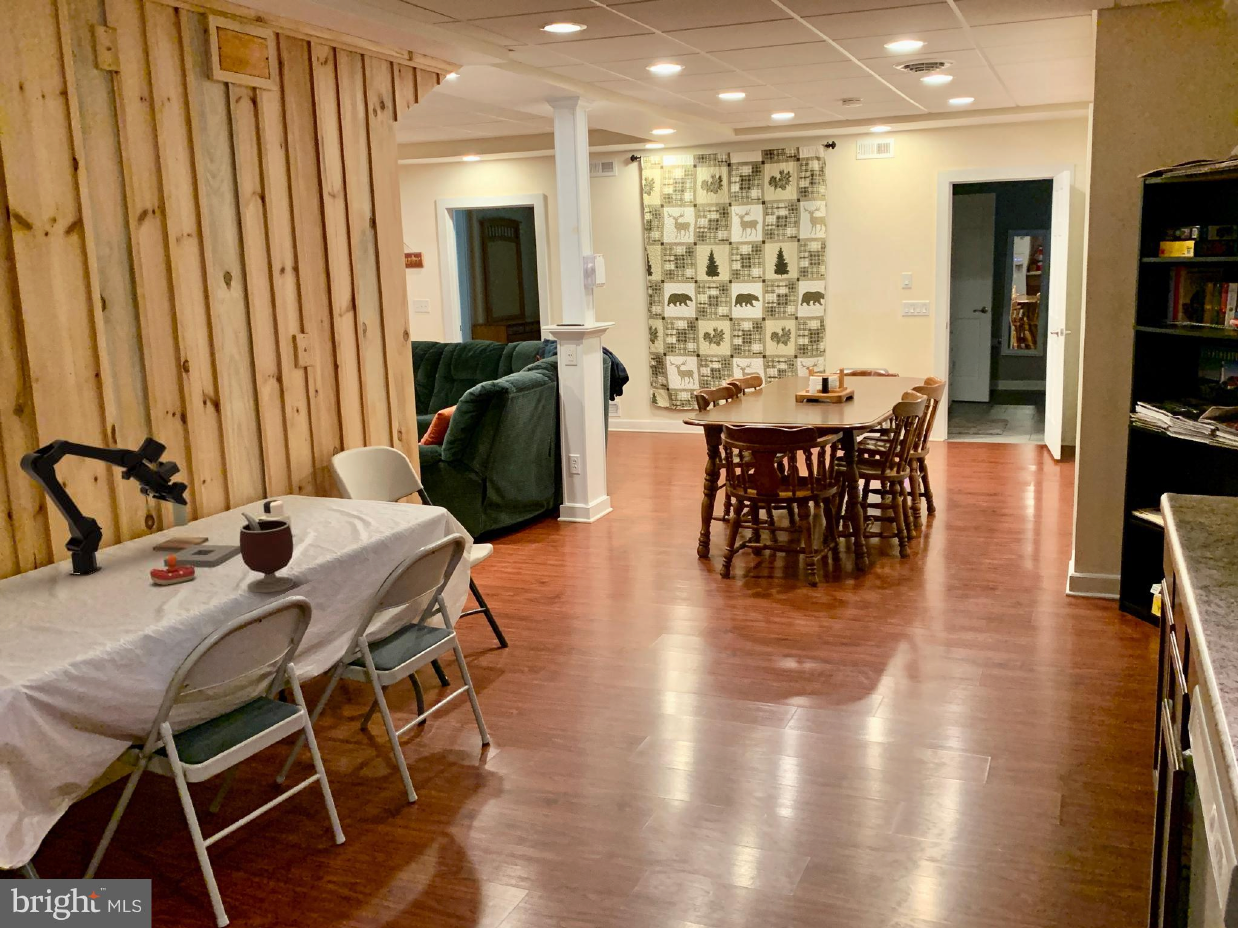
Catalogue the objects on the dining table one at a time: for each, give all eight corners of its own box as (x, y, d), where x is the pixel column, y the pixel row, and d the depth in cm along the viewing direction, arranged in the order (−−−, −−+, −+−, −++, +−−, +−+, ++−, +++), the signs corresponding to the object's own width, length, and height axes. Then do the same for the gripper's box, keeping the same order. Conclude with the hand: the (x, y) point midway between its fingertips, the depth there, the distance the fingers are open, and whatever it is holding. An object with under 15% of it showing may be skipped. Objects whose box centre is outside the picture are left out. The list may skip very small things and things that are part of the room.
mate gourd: (307, 581, 299) (301, 512, 295) (268, 596, 287) (261, 523, 283) (268, 574, 307) (262, 506, 303) (229, 588, 295) (221, 518, 291)
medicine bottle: (260, 539, 346) (256, 502, 343) (276, 533, 352) (273, 498, 349) (276, 541, 342) (272, 504, 340) (292, 535, 349) (289, 499, 346)
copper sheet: (187, 550, 334) (187, 547, 334) (152, 550, 336) (152, 547, 336) (208, 540, 346) (208, 537, 346) (174, 539, 348) (174, 536, 348)
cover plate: (214, 567, 316) (213, 560, 315) (164, 566, 318) (163, 559, 318) (241, 551, 331) (240, 545, 331) (193, 550, 334) (193, 544, 333)
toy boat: (148, 582, 303) (145, 556, 302) (190, 574, 310) (187, 548, 309) (155, 588, 297) (152, 562, 296) (198, 580, 304) (195, 554, 303)
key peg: (188, 525, 338) (184, 485, 335) (175, 527, 336) (170, 486, 334) (187, 522, 342) (182, 482, 339) (174, 524, 340) (169, 484, 337)
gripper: (178, 457, 326) (214, 485, 337) (144, 452, 337) (180, 479, 347) (157, 487, 321) (194, 515, 332) (123, 481, 332) (160, 508, 343)
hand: (182, 503), depth 339 cm, fingers closed on key peg, 4 cm apart
